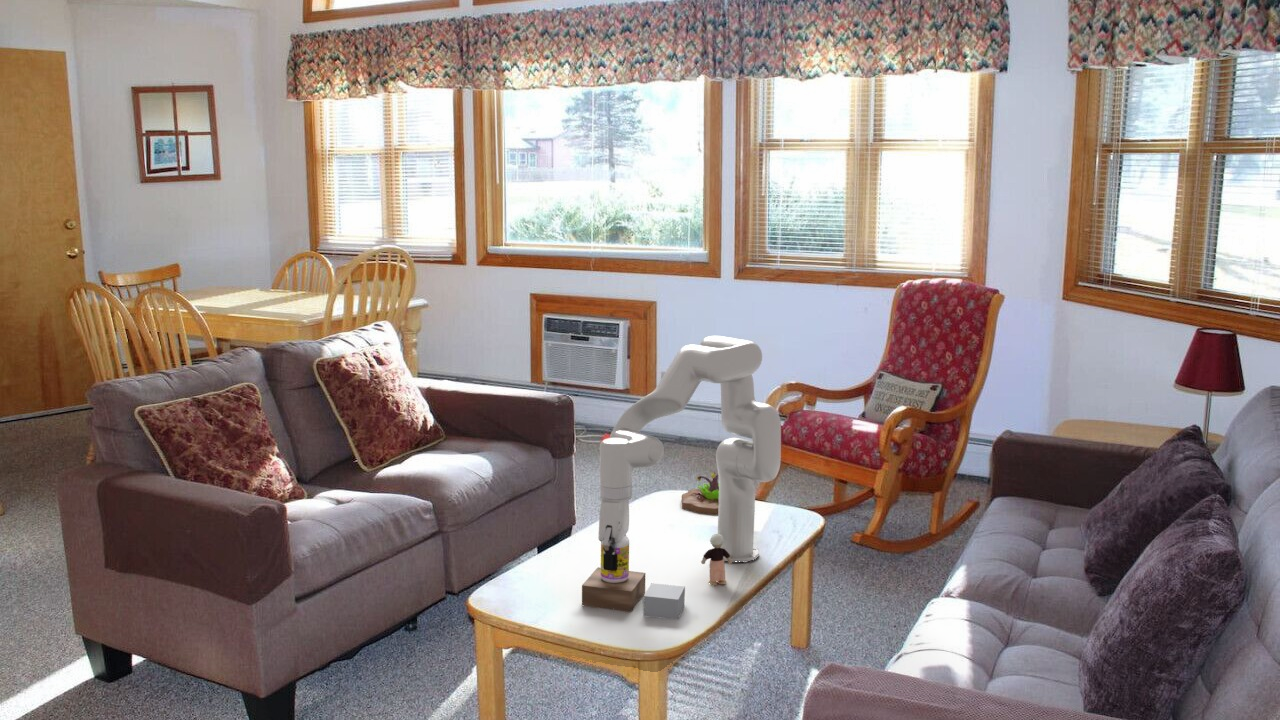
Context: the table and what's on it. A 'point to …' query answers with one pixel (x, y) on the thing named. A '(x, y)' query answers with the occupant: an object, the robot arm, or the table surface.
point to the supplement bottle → (622, 562)
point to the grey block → (664, 601)
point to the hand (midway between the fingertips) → (615, 563)
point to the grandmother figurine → (717, 560)
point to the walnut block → (613, 592)
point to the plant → (703, 497)
